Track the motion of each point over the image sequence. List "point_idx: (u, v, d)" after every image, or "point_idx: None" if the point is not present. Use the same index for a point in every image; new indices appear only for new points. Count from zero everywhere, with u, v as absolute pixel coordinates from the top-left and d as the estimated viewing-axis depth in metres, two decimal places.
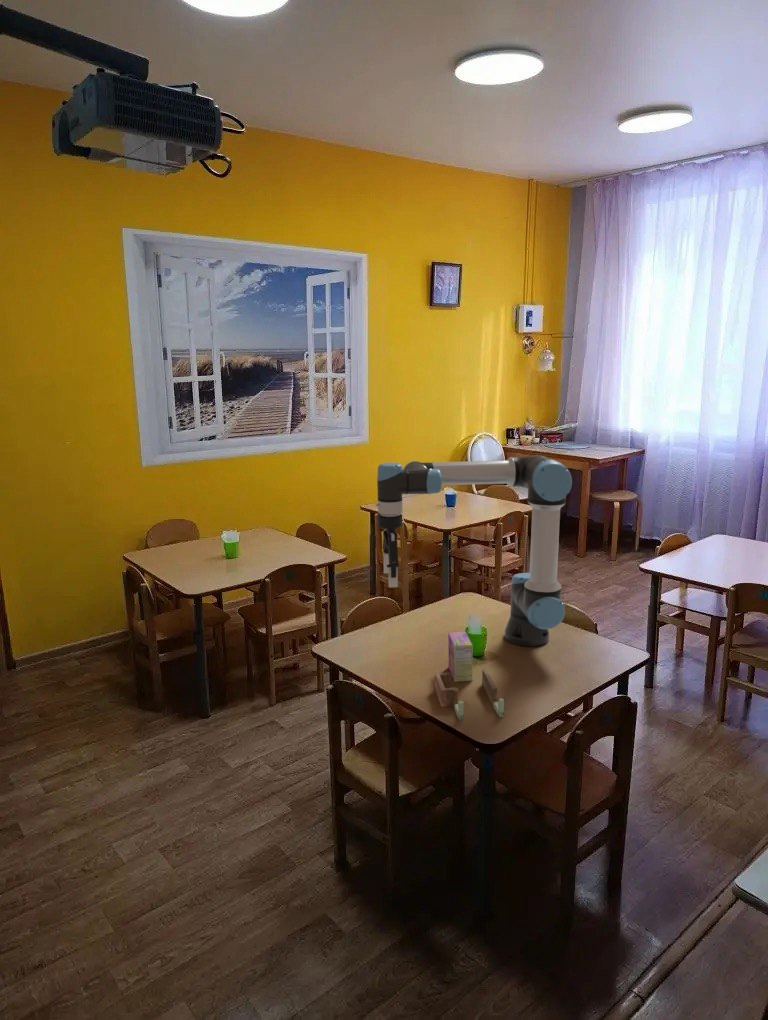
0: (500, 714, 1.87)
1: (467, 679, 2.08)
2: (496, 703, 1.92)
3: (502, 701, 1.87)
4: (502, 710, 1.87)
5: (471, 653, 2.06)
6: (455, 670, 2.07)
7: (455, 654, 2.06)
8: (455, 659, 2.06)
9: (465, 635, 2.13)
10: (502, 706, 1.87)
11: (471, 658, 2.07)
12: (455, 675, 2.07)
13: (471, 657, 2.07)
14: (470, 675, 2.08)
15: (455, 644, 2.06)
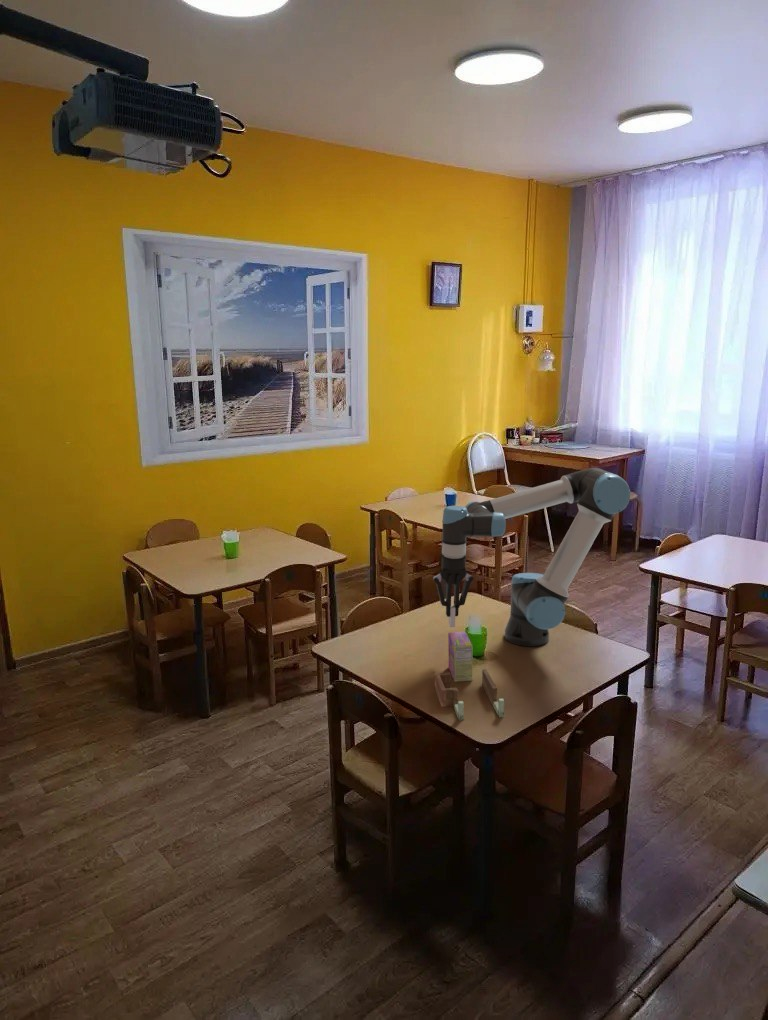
0: (500, 714, 1.87)
1: (467, 679, 2.08)
2: (496, 703, 1.92)
3: (502, 701, 1.87)
4: (502, 710, 1.87)
5: (471, 653, 2.06)
6: (455, 670, 2.07)
7: (455, 654, 2.06)
8: (455, 659, 2.06)
9: (465, 635, 2.13)
10: (502, 706, 1.87)
11: (471, 658, 2.07)
12: (455, 675, 2.07)
13: (471, 657, 2.07)
14: (470, 675, 2.08)
15: (455, 644, 2.06)
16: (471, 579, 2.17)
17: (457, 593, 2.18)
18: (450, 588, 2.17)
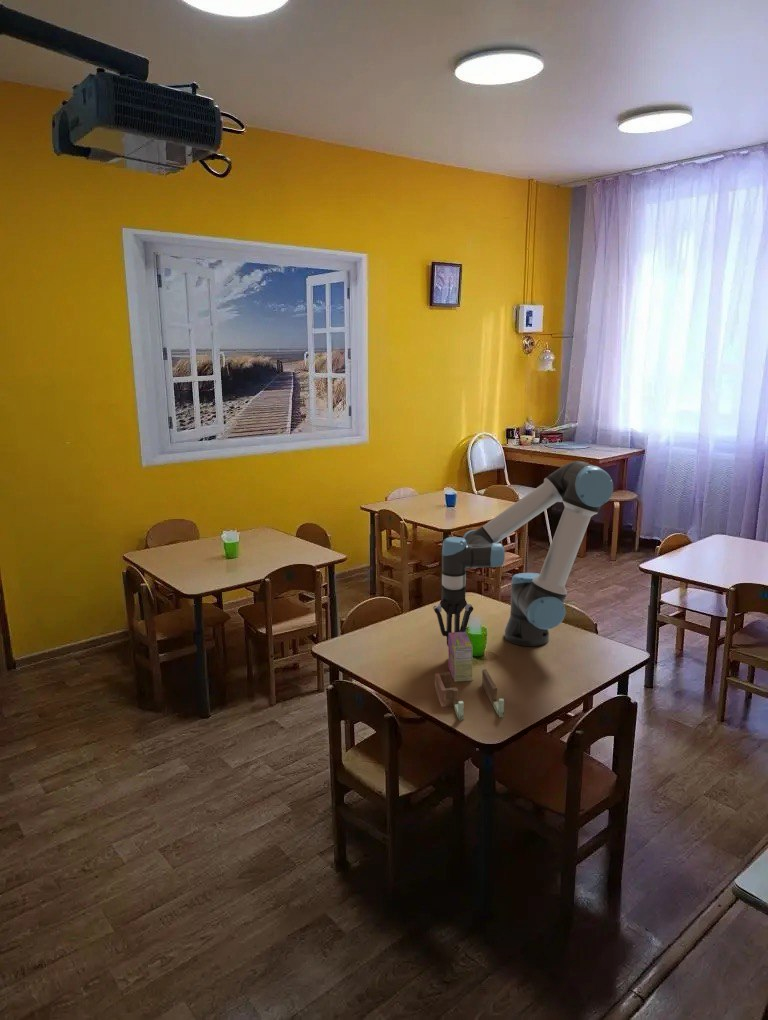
0: (500, 714, 1.87)
1: (467, 679, 2.08)
2: (496, 703, 1.92)
3: (502, 701, 1.87)
4: (502, 710, 1.87)
5: (471, 653, 2.06)
6: (455, 670, 2.07)
7: (455, 654, 2.06)
8: (455, 659, 2.06)
9: (464, 635, 2.13)
10: (502, 706, 1.87)
11: (471, 658, 2.07)
12: (455, 674, 2.07)
13: (471, 657, 2.07)
14: (470, 675, 2.08)
15: (455, 644, 2.06)
16: (471, 609, 2.19)
17: (457, 623, 2.20)
18: (450, 618, 2.19)
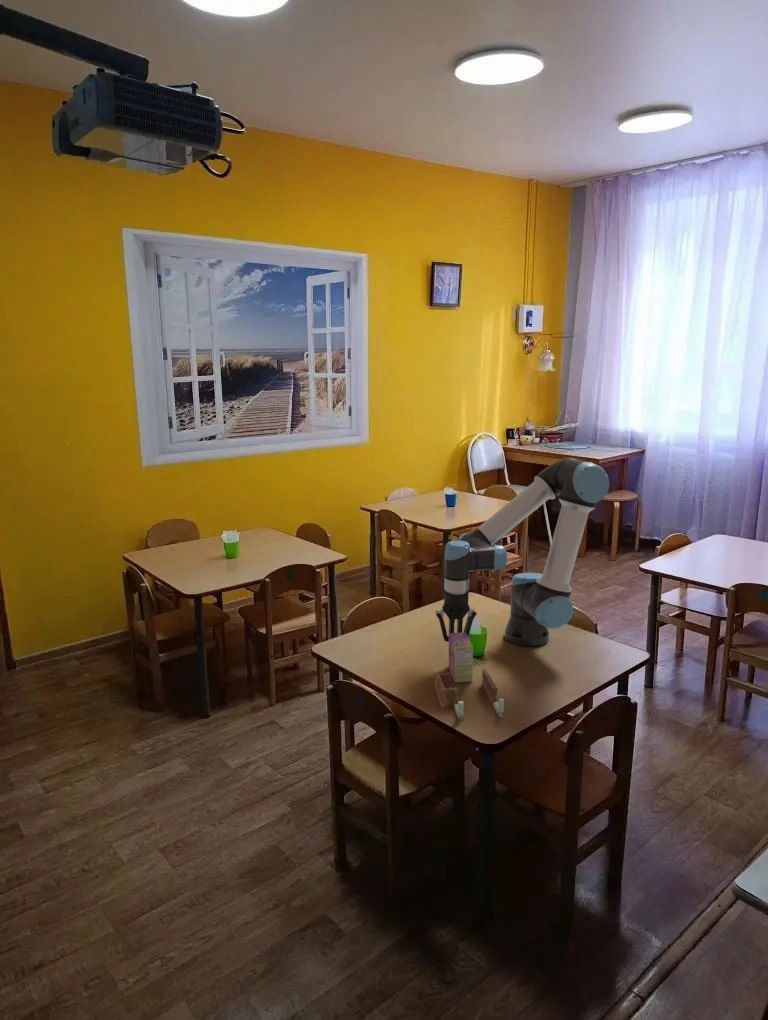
0: (500, 714, 1.87)
1: (467, 680, 2.08)
2: (496, 703, 1.92)
3: (502, 701, 1.87)
4: (502, 710, 1.87)
5: (472, 654, 2.06)
6: (455, 671, 2.07)
7: (455, 655, 2.05)
8: (455, 660, 2.06)
9: (465, 635, 2.12)
10: (502, 706, 1.87)
11: (471, 659, 2.06)
12: (456, 675, 2.07)
13: (471, 658, 2.06)
14: (470, 676, 2.07)
15: (455, 645, 2.06)
16: (474, 614, 2.14)
17: (460, 628, 2.15)
18: (453, 624, 2.14)
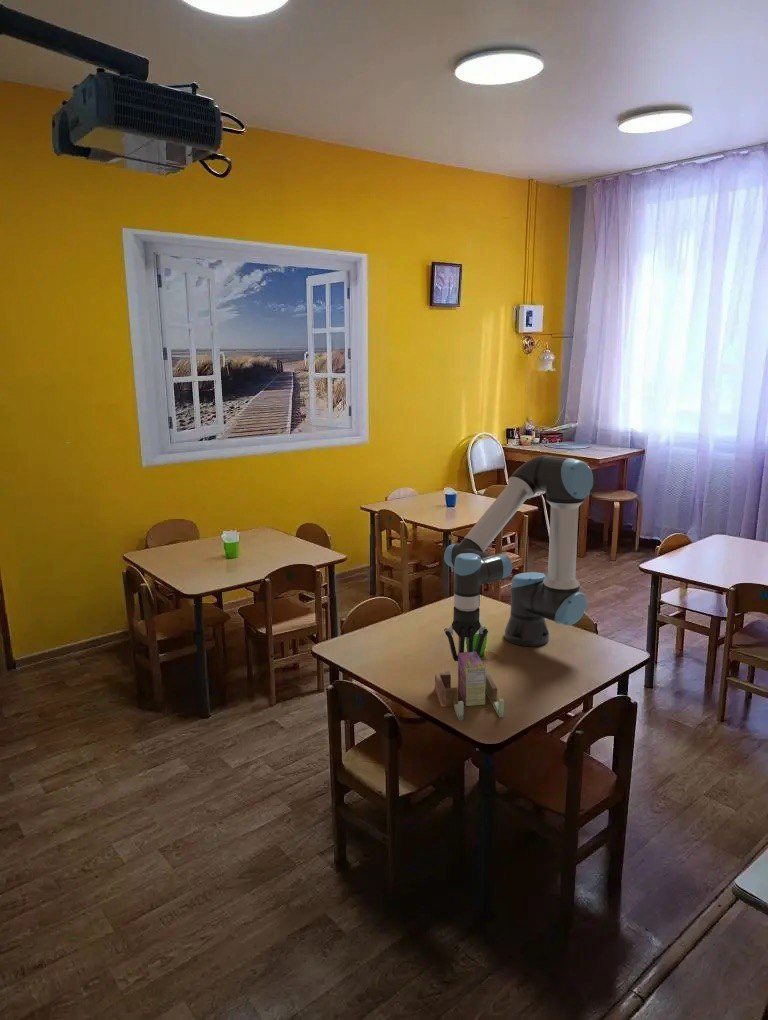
0: (500, 714, 1.87)
1: (480, 703, 1.94)
2: (496, 703, 1.92)
3: (502, 701, 1.87)
4: (502, 710, 1.87)
5: (484, 675, 1.92)
6: (467, 694, 1.93)
7: (467, 677, 1.92)
8: (467, 682, 1.92)
9: (476, 655, 1.99)
10: (502, 706, 1.87)
11: (484, 680, 1.92)
12: (467, 698, 1.93)
13: (483, 679, 1.92)
14: (483, 699, 1.94)
15: (467, 666, 1.92)
16: (485, 632, 2.01)
17: (470, 647, 2.01)
18: (463, 642, 2.01)
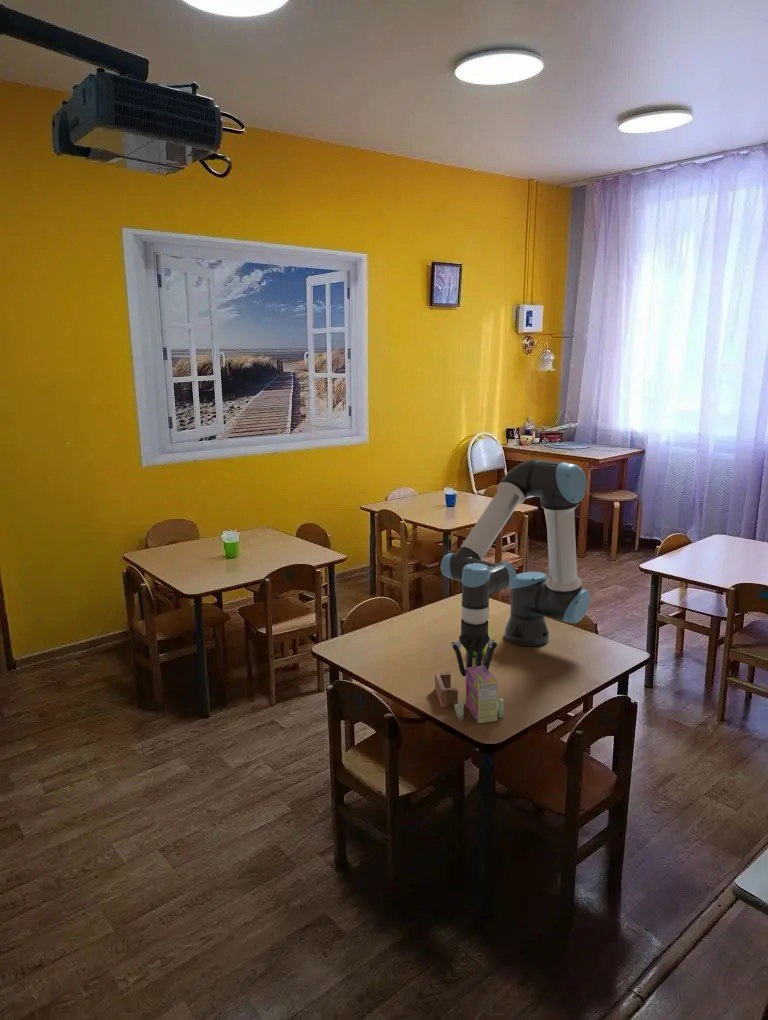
0: (500, 714, 1.87)
1: (492, 720, 1.85)
2: None
3: (502, 701, 1.87)
4: (502, 710, 1.87)
5: (497, 690, 1.83)
6: (479, 711, 1.84)
7: (479, 693, 1.82)
8: (479, 698, 1.83)
9: (485, 669, 1.90)
10: (502, 706, 1.87)
11: (496, 696, 1.84)
12: (479, 716, 1.84)
13: (496, 695, 1.84)
14: (495, 715, 1.85)
15: (478, 681, 1.83)
16: (495, 646, 1.92)
17: (479, 662, 1.92)
18: (471, 656, 1.92)
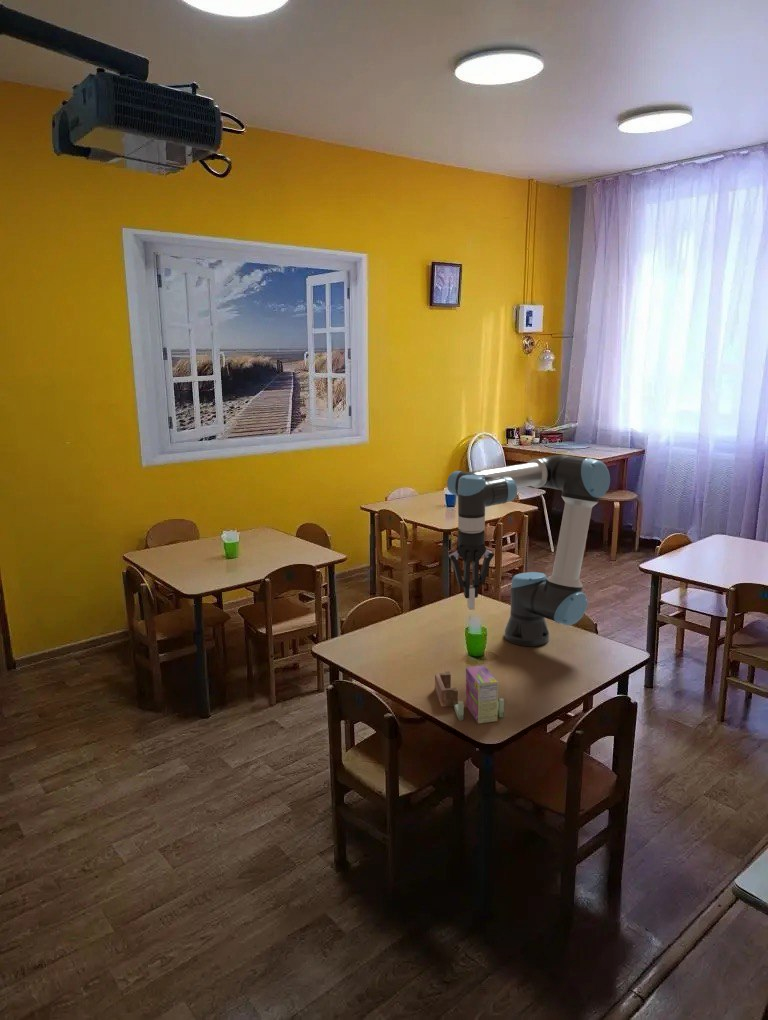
0: (500, 714, 1.87)
1: (492, 720, 1.85)
2: None
3: (502, 701, 1.87)
4: (502, 710, 1.87)
5: (497, 691, 1.83)
6: (479, 711, 1.84)
7: (479, 693, 1.82)
8: (479, 698, 1.83)
9: (485, 669, 1.90)
10: (502, 706, 1.87)
11: (496, 696, 1.84)
12: (479, 716, 1.84)
13: (496, 695, 1.84)
14: (495, 715, 1.85)
15: (478, 682, 1.83)
16: (491, 556, 1.96)
17: (476, 572, 1.96)
18: (468, 566, 1.96)
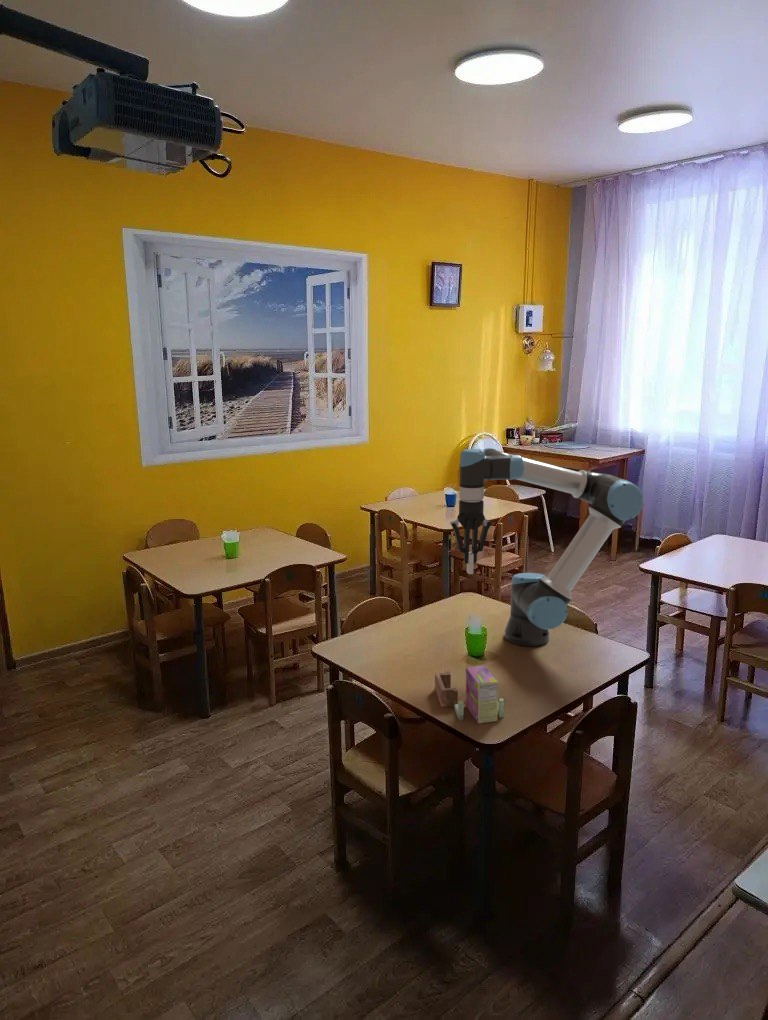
0: (500, 714, 1.87)
1: (492, 720, 1.85)
2: None
3: (502, 701, 1.87)
4: (502, 710, 1.87)
5: (497, 691, 1.83)
6: (479, 711, 1.84)
7: (479, 693, 1.82)
8: (479, 698, 1.83)
9: (485, 669, 1.90)
10: (502, 706, 1.87)
11: (496, 696, 1.84)
12: (479, 716, 1.84)
13: (496, 695, 1.84)
14: (495, 715, 1.85)
15: (478, 681, 1.83)
16: (489, 524, 2.13)
17: (475, 539, 2.13)
18: (468, 533, 2.13)
